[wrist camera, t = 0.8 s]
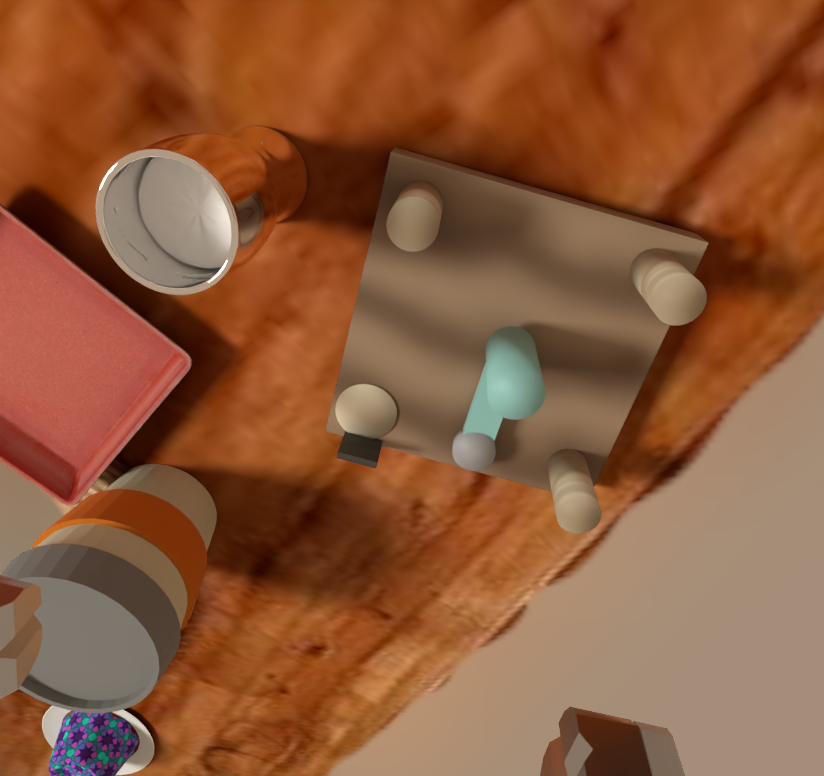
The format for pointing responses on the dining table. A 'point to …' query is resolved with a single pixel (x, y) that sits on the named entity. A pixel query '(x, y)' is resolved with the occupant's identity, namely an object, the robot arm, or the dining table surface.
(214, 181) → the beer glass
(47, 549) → the reusable coffee cup
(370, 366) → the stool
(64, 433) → the plant saucer
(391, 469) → the dining table surface
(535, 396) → the folding leg
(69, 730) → the purple patterned hat
